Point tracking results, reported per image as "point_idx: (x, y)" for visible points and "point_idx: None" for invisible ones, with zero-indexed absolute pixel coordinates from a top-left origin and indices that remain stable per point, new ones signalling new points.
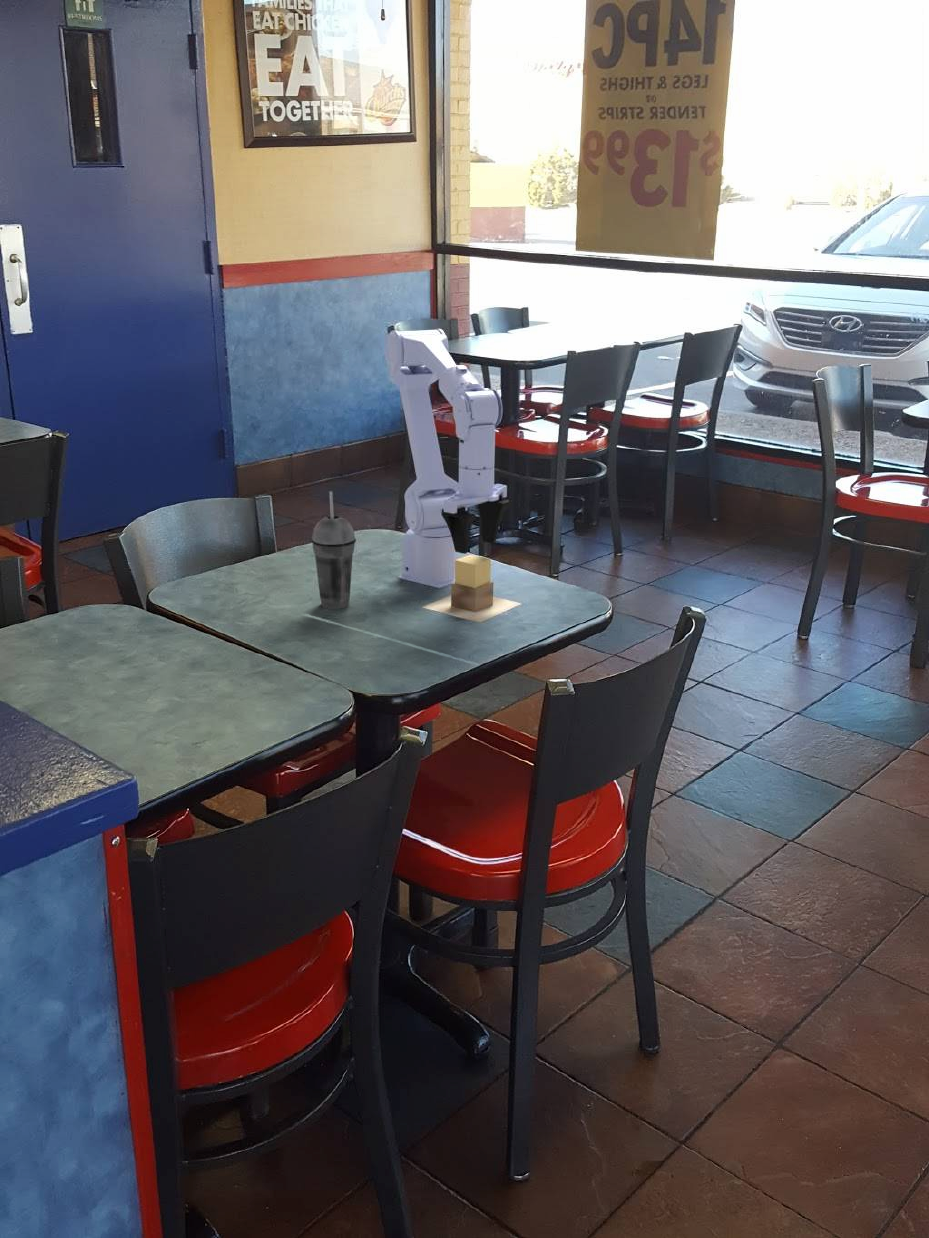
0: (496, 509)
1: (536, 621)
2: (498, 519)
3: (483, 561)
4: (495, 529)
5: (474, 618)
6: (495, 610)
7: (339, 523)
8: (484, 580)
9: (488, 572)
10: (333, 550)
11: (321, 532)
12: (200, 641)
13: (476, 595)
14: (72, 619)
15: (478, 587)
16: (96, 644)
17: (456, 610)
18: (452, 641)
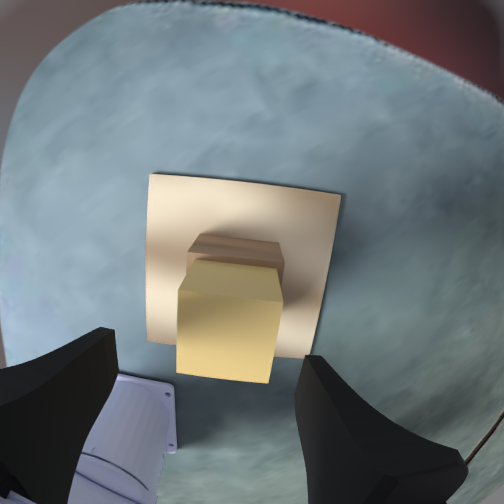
0: (25, 428)
1: (237, 84)
2: (46, 377)
3: (224, 298)
4: (82, 356)
5: (321, 221)
6: (237, 205)
7: None
8: (226, 267)
9: (199, 272)
10: None
11: None
12: (493, 444)
13: (277, 255)
14: None
15: (263, 264)
16: (497, 472)
17: (290, 288)
18: (449, 200)
